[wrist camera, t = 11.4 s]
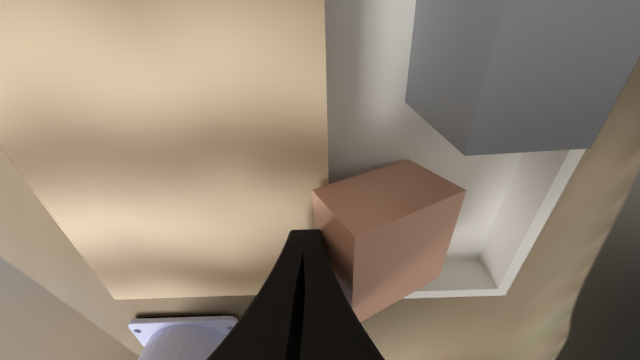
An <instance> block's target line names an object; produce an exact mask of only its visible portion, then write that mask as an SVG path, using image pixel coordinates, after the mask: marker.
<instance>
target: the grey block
mask: <svg viewBox="0 0 640 360" xmlns="http://www.w3.org/2000/svg"><path fill="white" fill-rule="evenodd" d="M639 57H640V0H416V6H415V15H414V24H413V33H412V42H411V52H410V61H409V70H408V79H407V88H406V97H405V103H406V104H407V105H409V106H410V107H411V108H412V109H413V110H414V111H415V112H416V113H417V114H419V115H420V116H421V117H422V118H423V119H424V120H425V121H426V122H428V123H429V124H430V125H431V126H432V127H433V128H434V129H435V130H436V131H438V132H439V133H440V134H441V135H442V136H443V137H444V138H445V139H446V140H448V141H449V142H450V143H451V144H452V145H453V146H454V147H455V148H457V149H458V150H459V151H460V152H461V153H462V154H463V155H464V156H471V155H488V154H505V153H522V152H539V151H556V150H573V149H589V148H591V146H592V144H593V142H594V141H595V139H596V137H597V135H598V133H599V131H600V129H601V128H602V126H603V124H604V122H605V120H606V118H607V116H608V114H609V113H610V111H611V109H612V107H613V105H614V103H615V101H616V100H617V98H618V96H619V94H620V92H621V90H622V88H623V87H624V85H625V83H626V81H627V79H628V77H629V75H630V73H631V72H632V70H633V68H634V66H635V64H636V62H637V60H638V59H639Z"/></svg>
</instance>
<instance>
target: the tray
mask: <svg viewBox="0 0 640 360" xmlns="http://www.w3.org/2000/svg"><path fill="white" fill-rule="evenodd" d="M324 1H325V43H326V86H327V128H328V171H329V184H332V183H335V182H338V181H342V180H345V179H348V178H351V177H354V176H357V175H360V174H364V173H367V172H370V171H373V170H376V169H379V168H383V167H386V166H389V165H392V164H395V163H398V162H401V161H405V160H408V159H409V160H411V161H413V162H415V163H417V164H419V165H420V166H422V167H424V168H426V169H428V170H430V171H432V172H433V173H435V174H437V175H439V176H441V177H443V178H445V179H447V180H448V181H450V182H452V183H454V184H456V185H458V186H460V187H462V188H463V189H465V190H466V193H465V196H464V200H463V203H462V206H461V209H460V212H459V216H458V219H457V222H456V225H455V229H454V232H453V235H452V238H451V242H450V245H449V248H448V251H447V254H446V258H445V261H444V264H443V267H442V271H441V274H440V277H439V278H437V279H435V280H433V281H432V282H430V283H428V284H427V285H425V286H423V287H421V288H420V289H418V290H416V291H414V292H413V293H411V294H409V295H407V296H406V297H404V298H402V299H406V298H438V297H470V296H501V295H506V293H507V291H508V289H509V288H510V286H511V284H512V282H513V280H514V279H515V277H516V275H517V273H518V271H519V270H520V268H521V266H522V264H523V262H524V261H525V259H526V257H527V255H528V253H529V252H530V250H531V248H532V246H533V244H534V243H535V241H536V239H537V237H538V235H539V234H540V232H541V230H542V228H543V226H544V225H545V223H546V221H547V219H548V217H549V216H550V214H551V212H552V210H553V208H554V207H555V205H556V203H557V201H558V199H559V198H560V196H561V194H562V192H563V190H564V188H565V187H566V185H567V183H568V181H569V179H570V178H571V176H572V174H573V172H574V170H575V169H576V167H577V165H578V163H579V161H580V160H581V158H582V156H583V154H584V152H585V151H586V149H573V150H556V151H539V152H522V153H505V154H488V155H471V156H464V155H463V154H462V153H461V152H460V151H459V150H458V149H457V148H455V147H454V146H453V145H452V144H451V143H450V142H449V141H448V140H446V139H445V138H444V137H443V136H442V135H441V134H440V133H439V132H438V131H436V130H435V129H434V128H433V127H432V126H431V125H430V124H429V123H428V122H426V121H425V120H424V119H423V118H422V117H421V116H420V115H419V114H417V113H416V112H415V111H414V110H413V109H412V108H411V107H410V106H409V105H407V104H406V103H405V97H406V88H407V79H408V70H409V61H410V52H411V42H412V33H413V24H414V15H415V6H416V0H324Z"/></svg>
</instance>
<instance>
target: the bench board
mask: <svg viewBox="0 0 640 360" xmlns="http://www.w3.org/2000/svg"><path fill="white" fill-rule="evenodd" d="M0 148H1V150H2V151H3V152H4V154H5V155H6V156H7V157H8V159H9V160H10V161H11V163H12V164H13V165H14V167H15V168H16V169H17V171H18V172H19V173H20V175H21V176H22V177H23V179H24V180H25V181H26V183H27V184H28V185H29V187H30V188H31V189H32V191H33V192H34V193H35V195H36V196H37V197H38V199H39V200H40V201H41V203H42V204H43V205H44V207H45V208H46V209H47V210H48V212H49V213H50V214H51V216H52V217H53V218H54V220H55V221H56V222H57V224H58V225H59V226H60V228H61V229H62V230H63V232H64V233H65V234H66V236H67V237H68V238H69V240H70V241H71V242H72V244H73V245H74V246H75V248H76V249H77V250H78V252H79V253H80V254H81V256H82V257H83V258H84V260H85V261H86V262H87V264H88V265H89V266H90V267H91V269H92V270H93V271H94V273H95V274H96V275H97V277H98V278H99V279H100V281H101V282H102V283H103V285H104V286H105V287H106V289H107V290H108V291H109V293H110V294H111V295H112V297H113V298H114V299H146V298H178V297H209V296H240V295H257V294H258V292H259V290H260V289H261V287H262V286H263V284H264V282H265V281H266V279H267V277H268V276H269V274H270V272H271V271H272V269H273V267H274V265H275V263H276V261H277V259H278V257H279V255H280V253H281V251H282V249H283V247H284V245H285V243H286V240H287V238H288V235H289V232H290V231H291V230H303V229H315V226H314V212H313V198H312V190H313V189H316V188H319V187H323V186H326V185H329V171H328V128H327V86H326V43H325V1H324V0H0Z"/></svg>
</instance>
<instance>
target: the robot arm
mask: <svg viewBox="0 0 640 360" xmlns="http://www.w3.org/2000/svg"><path fill="white" fill-rule="evenodd" d="M128 327H129V329H130V330H131V331H132V332H133V334H134V335H135V336H136V337H137V339H138V340H139V341H140V343H141V344H142V345H143V346H144V349H143V351H142V353H141V355H140V357H139V359H138V360H385V359H384V358H383V357H382V355H381V354H380V352H379V351H378V349H377V348H376V346H375V345H374V343H373V342H372V340H371V339H370V337H369V336H368V334H367V333H366V331H365V330H364V328H363V326H362V325H361V323H360V321H359V320H358V318H357V316H356V315H355V313H354V311H353V309H352V307H351V306H350V304H349V302H348V300H347V298H346V296H345V294H344V292H343V290H342V288H341V286H340V284H339V282H338V280H337V278H336V275H335V273H334V271H333V268H332V266H331V263H330V261H329V258H328V255H327V252H326V249H325V246H324V242H323V237H322V231H321V230H320V229H303V230H291V231H290V232H289V235H288V238H287V240H286V243H285V245H284V247H283V249H282V251H281V253H280V255H279V257H278V259H277V261H276V263H275V265H274V267H273V269H272V271H271V272H270V274H269V276H268V277H267V279H266V281H265V282H264V284H263V286H262V287H261V289H260V290H259V292H258V294H257V295H256V297H255V298H254V300H253V301H252V303H251V304H250V305H249V307H248V308H247V310H246V311H245V312H244V314H243V315H242V317H241V318H240V319H239V321H238V320H237V318H236V317H234V316H205V317H173V318H141V319H132V320H131V321H130V323H129V324H128Z"/></svg>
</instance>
